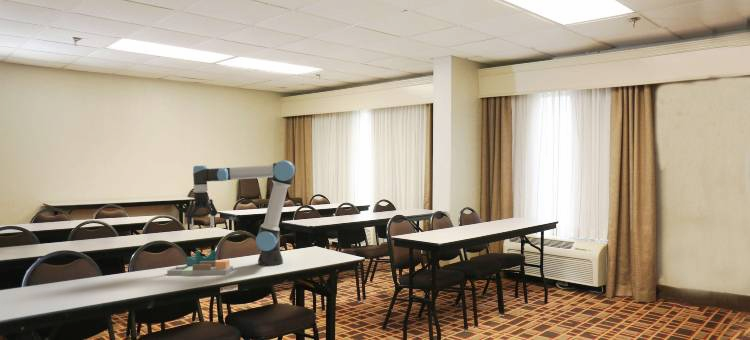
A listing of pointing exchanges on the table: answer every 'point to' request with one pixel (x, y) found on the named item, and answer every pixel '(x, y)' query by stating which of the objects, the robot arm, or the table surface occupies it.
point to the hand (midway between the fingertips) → (202, 228)
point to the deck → (199, 269)
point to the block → (222, 264)
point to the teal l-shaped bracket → (200, 258)
